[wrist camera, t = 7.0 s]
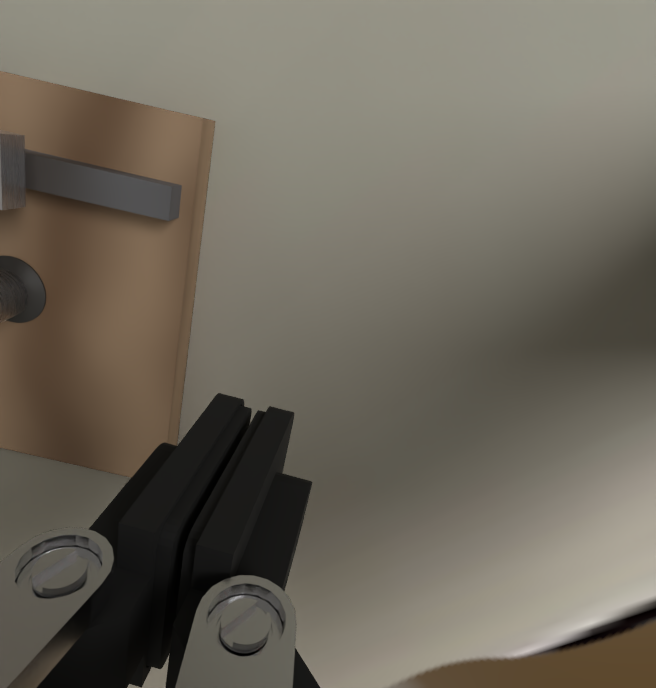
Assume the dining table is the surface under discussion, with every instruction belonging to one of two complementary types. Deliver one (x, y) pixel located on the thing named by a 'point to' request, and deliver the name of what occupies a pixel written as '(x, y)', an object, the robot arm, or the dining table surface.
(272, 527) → the robot arm
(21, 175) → the track spotlight
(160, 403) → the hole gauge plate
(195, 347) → the dining table surface
